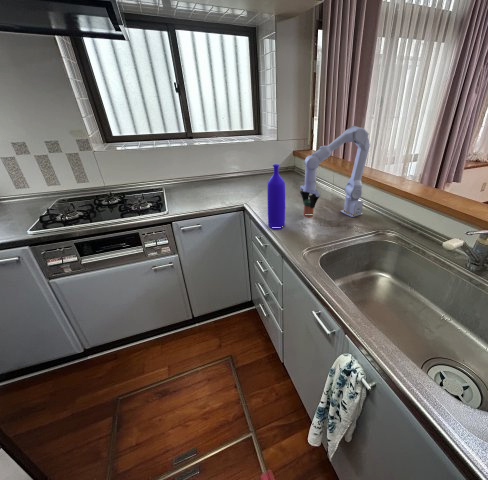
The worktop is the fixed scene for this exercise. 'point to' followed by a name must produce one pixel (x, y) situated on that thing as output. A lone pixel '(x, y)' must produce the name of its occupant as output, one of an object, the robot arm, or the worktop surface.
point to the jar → (308, 211)
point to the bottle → (276, 200)
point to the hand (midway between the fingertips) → (309, 205)
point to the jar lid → (307, 202)
